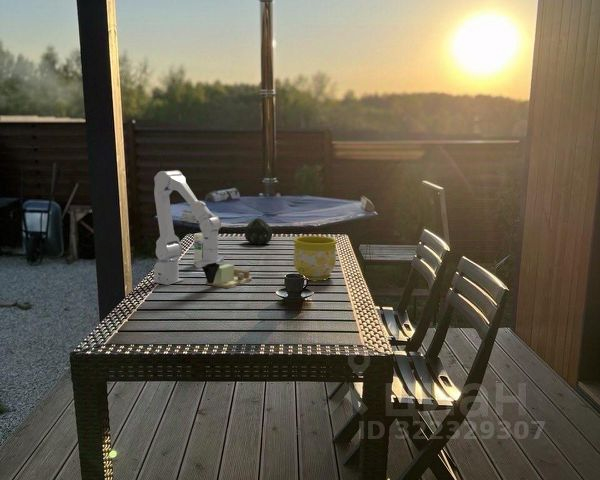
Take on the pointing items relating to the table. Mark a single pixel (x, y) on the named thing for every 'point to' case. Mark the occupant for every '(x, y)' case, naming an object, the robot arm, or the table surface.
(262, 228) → the squash
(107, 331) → the table surface
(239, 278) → the board
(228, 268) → the block
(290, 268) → the table surface
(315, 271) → the flowerpot
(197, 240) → the printed cardboard box
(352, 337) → the table surface
